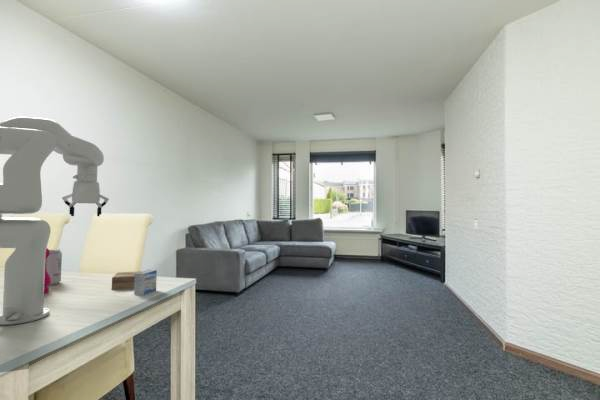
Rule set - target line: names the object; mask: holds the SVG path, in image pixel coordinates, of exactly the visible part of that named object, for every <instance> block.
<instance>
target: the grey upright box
mask: <svg viewBox="0 0 600 400" xmlns="http://www.w3.org/2000/svg"><path fill="white" fill-rule="evenodd" d="M49 251H50V255H49V256H48V257H47V259H48V262H47V263H46V270H47V272H48V274H49V276H50V279H51V282H50V284H49V285H48V286H53V285H58V284H60V282H61V281H62V261H63V259H62V257H63V253H62V251H61V249H58V248H57V249H55V248H54V249H49Z"/></svg>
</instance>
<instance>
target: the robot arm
mask: <svg viewBox="0 0 600 400" xmlns="http://www.w3.org/2000/svg"><path fill="white" fill-rule="evenodd" d="M52 152H55V153H56V154H59V155H62V158H63V161H64V162H65V163H67V164H68V165H70V166H76V167H77V170H76V175H72V179H75V181H74V182H73V187H72V191H71V192H72V193H70V194H67V195H64V196H63V197H62V198H61V199H62V200H63V202H64V203H65V205H67V207H69V212H68V213H69V215H70V216H71V217H74V216H75V205H76V204H95V205H96V206H97V207H96V208H97V209H96V210H97V211H96V216H97V217H100V216H101V215H102V208H103V207H104V206H105V205H107V203H108V202H109V200H110V199H109V197H106V196H105V195H103V194H101V193H100V191H101V189H100V182H98V167H100V166H101V165H103V163H104V160H105V157H104V153H103V152H102V150H101V149H100V148H99V147H98V146H97V145H96V144H95V143H92V142H90V141H87V140H85V139H82V138H79V137H77V136H73V135H72V134H71V133H70V132H69V131H67V130H66V129H65V128H64V127H63V126H62V125H61V124H60V123H59V122H57V121H55V120H53V119H49V118H43V117H30V116H29V117H28V116H18V117H17V116H16V117H12V118H9V119H6V120H4V121H2V122H0V155H10V156H9V158H8V159H7V160H6V161H5V163H4V165H3V168H2V181H3V182H2V183H0V249H14V251H13V252H12V253H11V254H10V255H9V256H8V258H7V259H6V260H5V262H4V273H3V275H4V279H3V302H2V314H0V326H1V325H4V326H10V325H20V324H25V323H30V322H33V321H37V320H39V319H43V318H45V317H47V316H48V315H49V314H50V308H47V307H44V306H45V305H44V303H45V301H44V300H45V294H44V281H45V258H46V249H47V248H48V243H49V239H50V237H51V225H50V224H49V223H48V222H47V221H46V220H44V219H42V218H37V217H36V218H35V217H3V215H33V214H35V213H37V212H38V213H39V211H40V210H41V208H42V207H43V204H42V203H43V195H42V192H43V191H42V179H41V171H42V168H43V167H42V166H43V164H44V163H45V161H46V160H47V158H48V157H49V156H50V155H51V154H52ZM69 198H71V202H70V201H69V200H68V199H69ZM101 199H102V200H103V202H102V203H100V200H101Z"/></svg>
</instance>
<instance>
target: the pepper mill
mask: <svg viewBox="0 0 600 400" xmlns="http://www.w3.org/2000/svg"><path fill="white" fill-rule="evenodd" d="M49 250H50V249H49V248H48V247H47V249H46V258H45V281H44V295H45V294H48V293H49V291H50V287H49V286H50V285H49V284H50V282H51V279H50V276H49V274H48V272H47V270H46V263H47V262H48V259H47V257H48V256H49V255H50V251H49Z"/></svg>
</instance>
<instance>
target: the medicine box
mask: <svg viewBox="0 0 600 400" xmlns="http://www.w3.org/2000/svg"><path fill="white" fill-rule="evenodd" d="M157 273H158V272H157V269H146V270H142V271H141V272H140V273H136V274H135V285H134V288H133V289H134V290H133V291H134V293H133V294H134V295H137V296H145V294H146V295H148V294H150V292H151V293H152V291H153V292H155V291H156V290H157V278H158V277H157V276H158V275H157Z"/></svg>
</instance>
